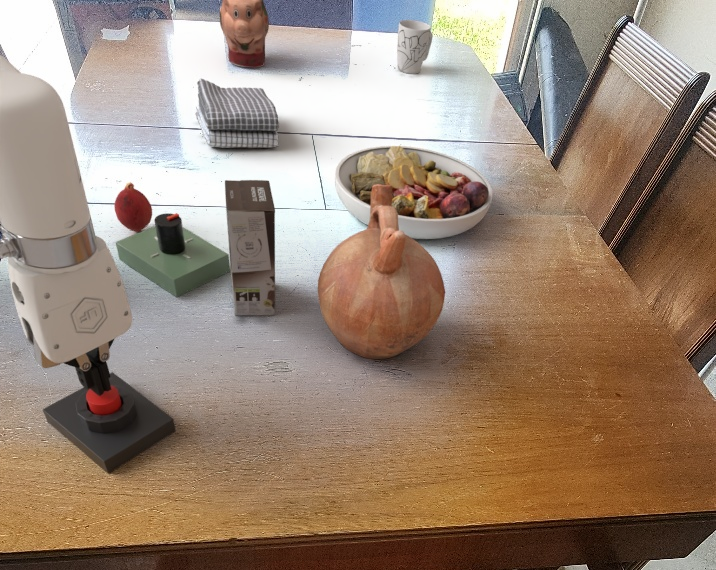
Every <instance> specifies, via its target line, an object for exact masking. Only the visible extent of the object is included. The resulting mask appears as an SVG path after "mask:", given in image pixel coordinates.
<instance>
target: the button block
mask: <svg viewBox="0 0 716 570" xmlns="http://www.w3.org/2000/svg"><path fill="white" fill-rule="evenodd" d="M109 373H110V378H109V382H110V385H111V386H114V387H115V388H116V389H117V390H118V393H119V396H120V400H121V407H120V409H119V410H118V411H116V412H115V413H113V414H109V415H103V416H101V415H96V414H94V413H93V412H92V411H91V410H90V407H89V404H88V401H87V398H86V394H87V392H88V391H89V390H90V389H86V388H84V387H82V388H80V389H78V390H76V391H74V392H72V393H70V394H68V395H67V396H65V397H63V398H61V399H59V400H57V401H55V402H53V403H52V404H50V405H48V406H46V407H44V408H42V413H43V415H44V417H45V419H46V421H47V423H48V424H49V425H50V426H51V427H53V428H54V429H55V430H56V431H57V432H59V434H61V435H62V436H63V437H64V438H65V439H67V440H68V441H69V442H71V444H73V445H74V446H75V447H76V448H77V449H79V451H81V452H82V453H83V454H84V455H85V456H86V457H88V458H89V459H90V460H91V461H92V462H94V463H95V465H97V466H98V467H99V468H101V469H102V470H103V471H104V472H105V473H107V474H108V475H110V473H112V472H114V471H115V470H117V469H119V468H120V467H122V466H123V465H125V464H126V463H128V462H130V461H132V460H133V459H135V458H136V457H137V456H139V455H141V454H143V453H144V452H145V451H147V450H149V449H150V448H152V447H154V446H155V445H156V444H158V443H160V442H161V441H162V440H164V439H165V438H167V437H170V435H172V434H174V433H175V432H177V430H176V425H175V424H176V423H175V419H174V418H173V417H172V416H171V415H169V413H167V412H165V410H163V409H161V408H160V407H159V406H158V405H156V404H155V403H154V402H152V401H151V400H150V399H149V398H147V397H146V396H145V395H143V394H142V393H141V392H139V391H138V390H137V389H136V388H134V387H132V385H131V384H129V383H127V382H126V381H125V380H124V379H122V378H121V377H119V376H118V375H117V374H115V373H114V371H112V372H109Z"/></svg>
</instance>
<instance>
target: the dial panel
mask: <svg viewBox="0 0 716 570" xmlns="http://www.w3.org/2000/svg"><path fill="white" fill-rule="evenodd" d="M182 227H183V226H182ZM183 234H184V241H185V250H184V251H183V252H181V253H179V254H166V253H163V252H161V251H160V249H159V244H158V238H157V233H156V227H155V225H154V226H152V227H149V228H146V229H143V230H142V231H141V232H136V233H134V234H132V235H130V236H127V237H124V238H122V239H120V240H117V241H115V246H116V250H117V255H118V259H119V261H121V262H123V263H124V264H125V265H127V266H129V267H130V268H131V269H133V270H134V271H136V272H137V273H139V274H141V276H144V277H145V278H146V279H148V280H150V281H151V282H152V283H154V284H156V285H157V286H159V287H160V288H162V289H163V290H165V292H168V293H170V294H171V295H172V296H173V297H175V298H179V297H181V296H183V295H185V294H187V293H189V292H191V291H193V290H195V289H197V288H200V287H201V286H203V285H205V284H208V283H209V282H212V281H213V280H215V279H217V278H219V277H221V276H224V275H225V274H227V273H229V272H230V273H231V266H230V253H228V252H226V251H224V250H222V249H221V248H219V247H217V246H216V245H214V244H212V243H211V242H209V241H207V240H205V239H204V238H202V237H200V236H199V235H197V234H196V233H194V232H192V231H191V230H189V229H187V228H185V227H183Z"/></svg>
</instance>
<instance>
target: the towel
mask: <svg viewBox="0 0 716 570" xmlns="http://www.w3.org/2000/svg"><path fill="white" fill-rule="evenodd" d="M196 84H197V90H198V93H197V97H198V104H197V105H196V106H195V108H196V111H195V116H196V117H195V118H196V120H197V122H198V124H199V127H200V131H201V133H202V134H203V137H204V140H205V141H206V143H207V146H209V147H213V148H221V149H222V148H223V149H224V148H226V149H227V148H229V149H230V148H232V149H234V148H236V149H237V148H247V149H248V148H249V149H251V148H253V149H255V148H257V149H261V148H263V149H266V148H268V149H269V148H276V147H277V148H278V147H279V134H278V130H279V128H280V123H279V115H278V112H277V109H276V106H275V104H274V103H273V101H272V100H271V99H270V98H269V97H268V96H267V94H266V92H265V90H264V88H262V87H227V88H225V87H220V86H219V85H217V84H215V82H211V81H209V80H207V79H206V80H205V79H204V78H199V80H198V81H197V83H196Z"/></svg>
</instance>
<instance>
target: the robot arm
mask: <svg viewBox="0 0 716 570" xmlns="http://www.w3.org/2000/svg"><path fill="white" fill-rule="evenodd" d="M68 121H69V120H68V116H67V112H66V109H65V106H64V102H63V100H62V97H60V95H59V93H58V91H57V90H56V89H55V88H54V87H53V86H52V85H51V83H49V82H47V81H45V80H44V79H42V78H41V77H38V76H35V75H32V74H27V73H22V72H20V70H19V69H17V67H15V66H14V65H13V64H12V63H11V62H10V61H9V60H7V59H6V58H5V57H4V56H3V55H2V54H0V232H1V236H2V237H1V238H0V260H3V259H7V270H8V278H9V283H10V288H11V294H12V297H13V302H14V305H15V308H16V312H17V315H18V319H19V321H20V324H21V327H22V328H21V329H22V330H23V333H24V335H25V337H26V340H27V341H28V343H29V344H30V345H32V346H33V352H34V360H35V363H37V364H38V365H39V366H40V367H42V368H43V369H50V368H53V367H56V366H60V365H62V364H64V365H68V366H71V367H73V368H75V372H76V374H77V378H78V380H79V382H80V385H81V386H82V388H86V389H91V390H92V391H93V392H95V393H96V394H97V395H98V396H100V395H102V394H104V393H103V392H104V391H107V392H108V391H110V390H111V385H110V382H109V378H110V373H111V372H110V369H109V366H108V363H107V361H108V360H109V359H110V356H111V355H110V354H111V353H110V350H111V347H112V345H113V343H114V341H115V340H116V339H117V338H118V337H121V336H123V335H124V334H125V333H127V332H128V331H129V330H130V329H131V327H132V326H133V323H134V321H133V319H134V318H133V314H132V309H131V305H130V301H129V298H128V294H127V292H126V289H125V285H124V283H123V280H122V277H121V275H120V274H121V273H120V271H119V269H118V267H117V264H116V262H115V260H114V256H113V255H112V253H111V251H110V248H109V247H108V245H107V243H106V241H105V240H104V239H103V238H101V237H99V236H98V235H96V232H95V228H94V224H93V220H92V216H91V211H90V207H89V203H88V199H87V195H86V191H85V186H84V181H83V178H82V174H81V170H80V165H79V162H78V161H79V160H78V158H77V153H76V150H75V145H74V142H73V137H72V133H71V129H70V125H69V122H68Z"/></svg>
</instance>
